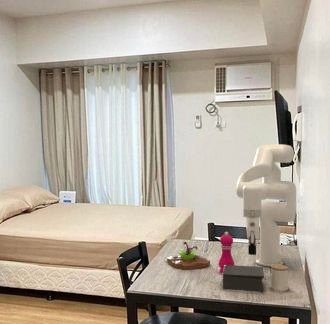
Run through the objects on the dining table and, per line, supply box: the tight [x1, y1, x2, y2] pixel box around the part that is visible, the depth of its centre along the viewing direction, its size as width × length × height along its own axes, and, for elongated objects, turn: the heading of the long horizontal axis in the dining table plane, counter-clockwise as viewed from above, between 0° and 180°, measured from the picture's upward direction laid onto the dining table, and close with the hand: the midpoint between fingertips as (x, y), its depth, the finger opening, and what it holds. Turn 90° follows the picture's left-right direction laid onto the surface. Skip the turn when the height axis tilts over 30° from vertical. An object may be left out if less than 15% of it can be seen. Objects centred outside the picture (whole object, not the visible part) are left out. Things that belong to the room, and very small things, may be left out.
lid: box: [222, 264, 265, 279], centre depth 208 cm, size 16×15×1 cm
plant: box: [166, 241, 211, 271], centre depth 246 cm, size 20×20×11 cm
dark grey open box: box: [222, 275, 263, 293], centre depth 208 cm, size 16×15×6 cm
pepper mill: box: [218, 231, 235, 274], centre depth 228 cm, size 7×7×20 cm
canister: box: [270, 264, 289, 292], centre depth 203 cm, size 7×7×10 cm
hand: (252, 254), depth 212 cm, fingers closed
